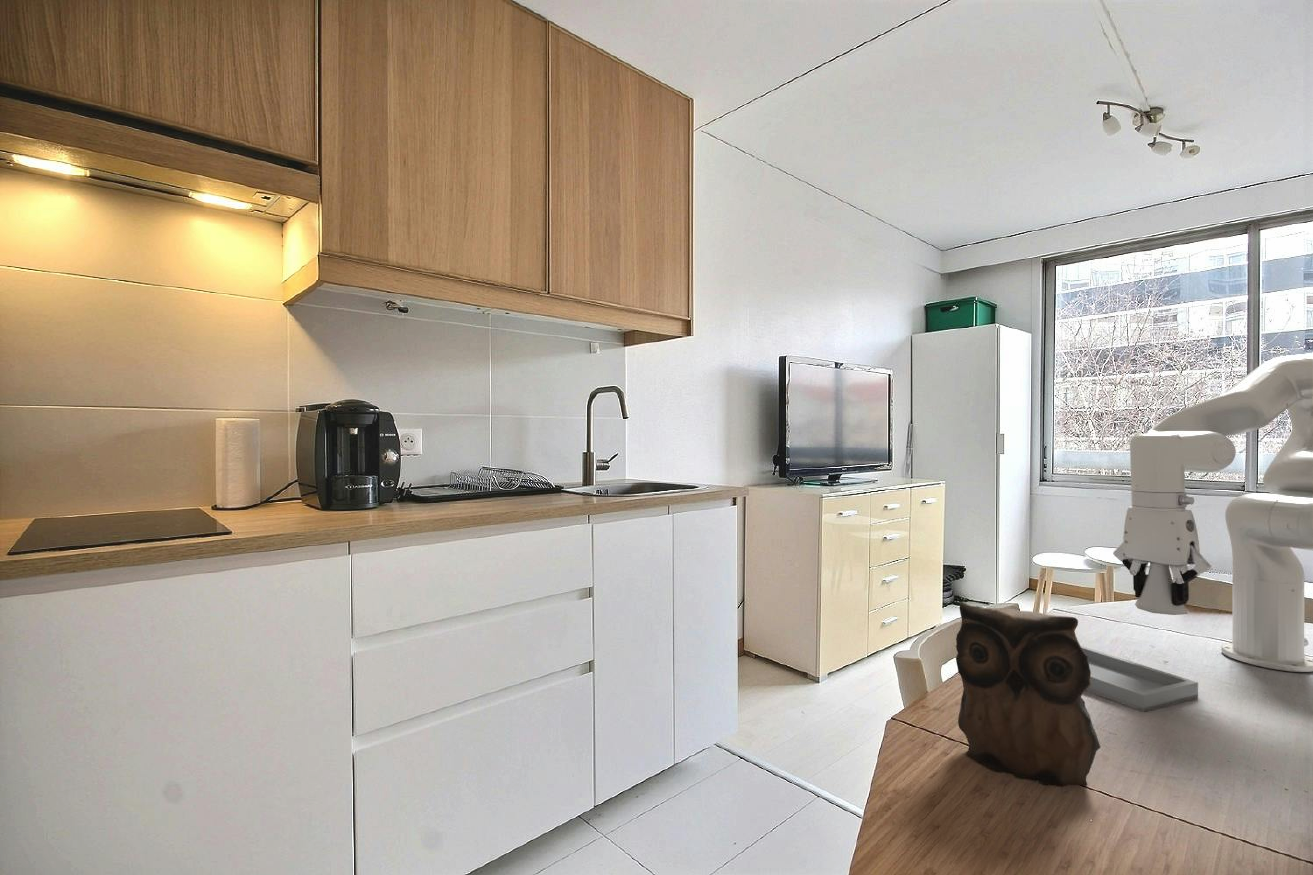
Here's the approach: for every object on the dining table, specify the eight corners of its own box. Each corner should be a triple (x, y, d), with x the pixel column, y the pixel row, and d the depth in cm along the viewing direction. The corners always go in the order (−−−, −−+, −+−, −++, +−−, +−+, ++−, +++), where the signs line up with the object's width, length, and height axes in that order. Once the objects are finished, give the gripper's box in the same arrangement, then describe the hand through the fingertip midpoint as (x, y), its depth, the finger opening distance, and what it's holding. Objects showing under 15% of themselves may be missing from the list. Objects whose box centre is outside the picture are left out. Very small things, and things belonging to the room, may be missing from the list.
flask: (1197, 617, 104) (1196, 560, 104) (1150, 615, 105) (1148, 559, 105) (1170, 605, 111) (1169, 552, 111) (1126, 604, 112) (1125, 551, 112)
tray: (1071, 655, 114) (1071, 642, 114) (1197, 697, 95) (1197, 682, 95) (1020, 665, 109) (1020, 651, 109) (1144, 711, 90) (1144, 695, 90)
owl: (1105, 791, 70) (1105, 620, 70) (1003, 795, 68) (1004, 622, 69) (1028, 737, 82) (1029, 593, 82) (941, 740, 81) (942, 594, 81)
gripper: (1228, 504, 101) (1231, 609, 101) (1119, 495, 117) (1121, 587, 117) (1203, 507, 99) (1206, 615, 99) (1094, 498, 114) (1097, 592, 114)
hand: (1160, 599), depth 108 cm, fingers closed on flask, 5 cm apart
